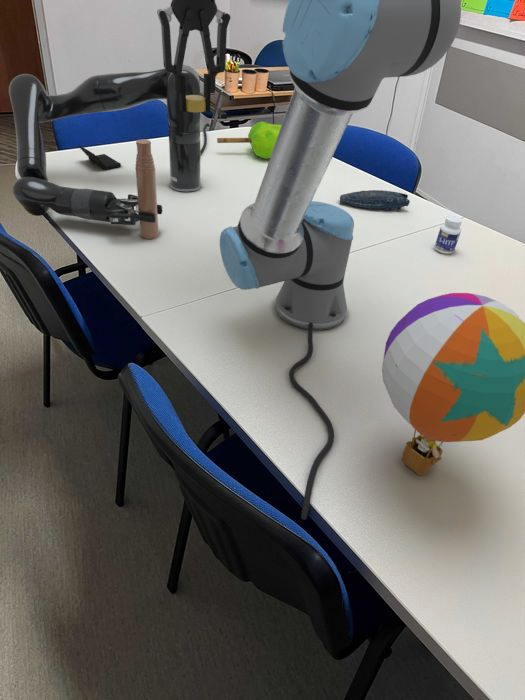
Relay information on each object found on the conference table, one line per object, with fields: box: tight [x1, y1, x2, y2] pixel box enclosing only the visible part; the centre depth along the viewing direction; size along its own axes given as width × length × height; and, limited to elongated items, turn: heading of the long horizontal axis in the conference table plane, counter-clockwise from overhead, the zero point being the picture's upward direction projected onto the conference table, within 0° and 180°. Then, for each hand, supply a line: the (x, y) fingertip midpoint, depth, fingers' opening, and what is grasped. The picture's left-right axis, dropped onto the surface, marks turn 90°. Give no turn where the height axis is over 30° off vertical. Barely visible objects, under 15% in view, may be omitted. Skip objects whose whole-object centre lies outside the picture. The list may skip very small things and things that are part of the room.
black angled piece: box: [77, 144, 122, 170], centre depth 169 cm, size 12×7×10 cm
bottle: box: [134, 138, 160, 240], centre depth 127 cm, size 5×5×24 cm
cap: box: [186, 95, 206, 113], centre depth 105 cm, size 4×4×2 cm
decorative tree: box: [216, 121, 282, 160], centre depth 186 cm, size 18×10×30 cm
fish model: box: [339, 189, 411, 211], centre depth 158 cm, size 7×21×5 cm, turn 84°
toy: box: [381, 292, 525, 477], centre depth 72 cm, size 20×20×30 cm
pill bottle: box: [434, 215, 463, 255], centre depth 137 cm, size 5×5×9 cm
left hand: (158, 214), depth 131 cm, fingers closed on bottle, 4 cm apart
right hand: (195, 109), depth 106 cm, fingers closed on cap, 4 cm apart
